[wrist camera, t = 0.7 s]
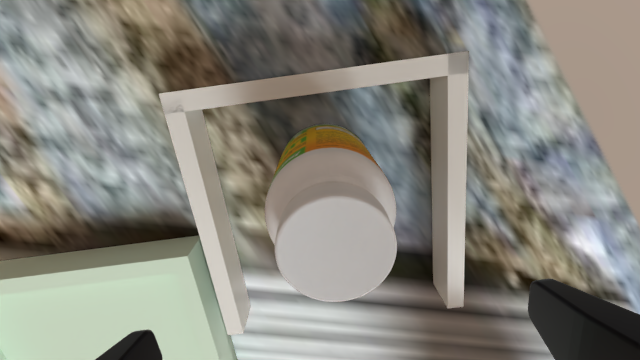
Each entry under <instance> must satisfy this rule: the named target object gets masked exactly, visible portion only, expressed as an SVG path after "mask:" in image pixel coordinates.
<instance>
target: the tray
mask: <svg viewBox="0 0 640 360" xmlns="http://www.w3.org/2000/svg"><path fill="white" fill-rule="evenodd" d="M139 330H151V331H152V332H153V333H154V335H155V338H156V340H157V343H158V345H159V348H160V351H161V353H162V358H163V360H237V357H236V354H235V350H234V346H233V343H232V339H231V336H230V335H228V334H227V330H226V327H225V323H224V320H223V316H222V313H221V309H220V306H219V302H218V299H217V295H216V292H215V288H214V285H213V281H212V278H211V274H210V271H209V268H208V264H207V261H206V257H205V254H204V250H203V247H202V243H201V240H200V236H199V235H198V236H191V237H183V238H175V239H167V240H159V241H152V242H144V243H136V244H128V245H120V246H113V247H105V248H97V249H89V250H81V251H74V252H66V253H58V254H50V255H43V256H35V257H27V258H19V259H11V260H4V261H0V360H95V359H96V358H98V357H99V356H100V355H102V354H103V353H104V352H106V351H107V350H108V349H110V348H111V347H112V346H114V345H115V344H116V343H118V342H119V341H120V340H122V339H123V338H124V337H126V336H127V335H128V334H130V333H131V332H134V331H139Z"/></svg>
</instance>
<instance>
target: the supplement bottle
mask: <svg viewBox="0 0 640 360" xmlns="http://www.w3.org/2000/svg"><path fill="white" fill-rule="evenodd" d="M395 219H396V202H395V197H394V193H393V190H392V187H391V185H390V183H389V181H388V179H387V177H386V176H385V174H384V173H383V171H382V170H381V168H380V167H379V166H378V164H377V163H376V161H375V160H374V159H373V157H372V156H371V154H370V153H369V152H368V150H367V149H366V147H365V146H364V144H363V143H362V142H361V140H360V139H359V138H358V137H357V136H356V135H354V134H353V133H352V132H350V131H349V130H347V129H345V128H343V127H341V126H337V125H333V124H318V125H313V126H310V127H307V128H305V129H303V130H301V131H300V132H298V133H297V134H296V135H295V136H294V137H293V138H292V139H291V140H290V141H289V142H288V144H287V145H286V147H285V149H284V151H283V153H282V156H281V158H280V161H279V164H278V166H277V169H276V171H275V174H274V177H273V180H272V183H271V185H270V188H269V190H268V193H267V198H266V204H265V221H266V226H267V230H268V233H269V235H270V237H271V239H272V241H273V243H274V244H275V257H276V262H277V265H278V268H279V270H280V272H281V274H282V275H283V277H284V278H285V280H286V281H287V282H288V283H289V284H290V285H291V286H292V287H293V288H295V289H296V290H297V291H299V292H300V293H302V294H304V295H306V296H308V297H311V298H313V299H317V300H321V301H328V302H340V301H347V300H352V299H355V298H358V297H361V296H363V295H365V294H367V293H369V292H370V291H372V290H373V289H375V288H376V287H377V286H378V285H380V284H381V283H382V282H383V281H384V279H385V278H386V277H387V275H388V274H389V273H390V271H391V269H392V267H393V264H394V261H395V258H396V253H397V240H396V235H395V231H394V224H395Z"/></svg>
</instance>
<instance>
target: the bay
mask: <svg viewBox="0 0 640 360" xmlns="http://www.w3.org/2000/svg"><path fill="white" fill-rule="evenodd" d="M468 74H469V51H464V52H457V53H449V54H442V55H435V56H428V57H420V58H413V59H406V60H399V61H391V62H384V63H377V64H370V65H362V66H355V67H348V68H341V69H333V70H326V71H319V72H312V73H304V74H297V75H290V76H283V77H275V78H268V79H261V80H254V81H246V82H239V83H232V84H225V85H217V86H210V87H203V88H196V89H188V90H181V91H174V92H167V93H159V97H160V100H161V103H162V107H163V110H164V114H165V117H166V121H167V124H168V128H169V131H170V135H171V138H172V142H173V145H174V149H175V152H176V156H177V159H178V163H179V166H180V170H181V173H182V177H183V180H184V184H185V187H186V191H187V194H188V198H189V201H190V205H191V208H192V212H193V215H194V219H195V222H196V226H197V229H198V233H199V236H200V240H201V243H202V247H203V250H204V254H205V257H206V261H207V264H208V268H209V271H210V274H211V278H212V281H213V285H214V288H215V292H216V295H217V299H218V302H219V306H220V309H221V313H222V316H223V320H224V323H225V327H226V330H227V334H228V335H234V334H242V333H244V329H245V325H246V322H247V318H248V314H249V310H250V306H251V305H250V301H249V297H248V293H247V289H246V285H245V281H244V277H243V273H242V269H241V265H240V261H239V257H238V253H237V249H236V245H235V240H234V236H233V232H232V228H231V224H230V220H229V216H228V212H227V208H226V204H225V200H224V196H223V192H222V188H221V184H220V180H219V176H218V172H217V168H216V164H215V160H214V156H213V152H212V147H211V143H210V139H209V135H208V131H207V127H206V123H205V119H204V115H203V111H202V109H208V108H215V107H222V106H230V105H237V104H244V103H252V102H259V101H266V100H274V99H281V98H288V97H296V96H303V95H310V94H317V93H325V92H332V91H339V90H347V89H354V88H361V87H369V86H376V85H383V84H391V83H398V82H405V81H413V80H420V79H427V78H430V122H431V182H432V243H433V284H434V286H435V287H436V289H437V291H438V293H439V294H440V296H441V298H442V300H443V301H444V303H445V305H446V307H447V308H456V307H464V261H465V214H466V167H467V121H468Z"/></svg>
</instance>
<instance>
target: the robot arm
mask: <svg viewBox="0 0 640 360" xmlns="http://www.w3.org/2000/svg"><path fill="white" fill-rule="evenodd" d="M528 313H529V316H530V319H531V321H532V322H533V324H534V326H535V327H536V329H537V331H538V332H539V334H540V336H541V337H542V339H543V341H544V342H545V344H546V345H547V347H548V349H549V350H550V352H551V354H552V355H553V357H554V359H555V360H640V315H639V314H637V313H634V312H632V311H629V310H627V309H625V308H622V307H620V306H617V305H615V304H612V303H610V302H607V301H605V300H603V299H600V298H598V297H595V296H593V295H590V294H588V293H585V292H583V291H581V290H578V289H576V288H573V287H571V286H568V285H566V284H563V283H561V282H558V281H556V280H553V279H542V280H535V281H533V282H532V283H531V285H530V292H529V303H528ZM95 360H163V358H162V353H161V351H160V348H159V345H158V343H157V340H156V338H155V335H154V333H153V332H152V331H151V330H139V331H134V332H131V333H130V334H128V335H127V336H126V337H124V338H123V339H122V340H120V341H119V342H118V343H116V344H115V345H114V346H112V347H111V348H110V349H108V350H107V351H106V352H104V353H103V354H102V355H100V356H99V357H98V358H96V359H95Z"/></svg>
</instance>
